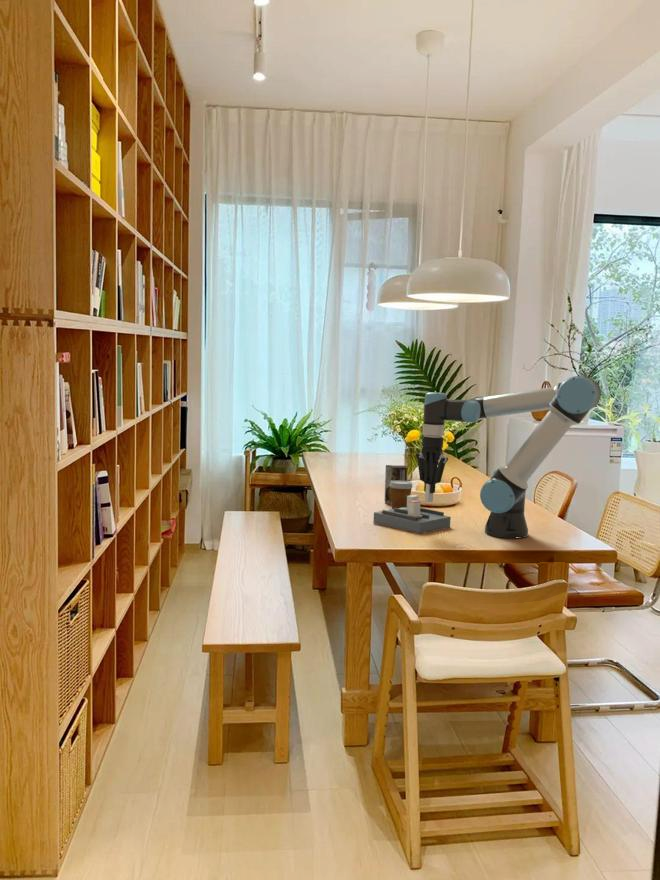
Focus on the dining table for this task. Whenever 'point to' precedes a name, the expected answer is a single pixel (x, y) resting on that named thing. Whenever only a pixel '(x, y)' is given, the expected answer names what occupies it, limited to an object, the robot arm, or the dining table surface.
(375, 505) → the dining table surface
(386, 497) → the coffee box
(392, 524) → the dark grey tray
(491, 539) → the dining table surface
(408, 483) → the disposable coffee cup
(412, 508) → the breaker slider
